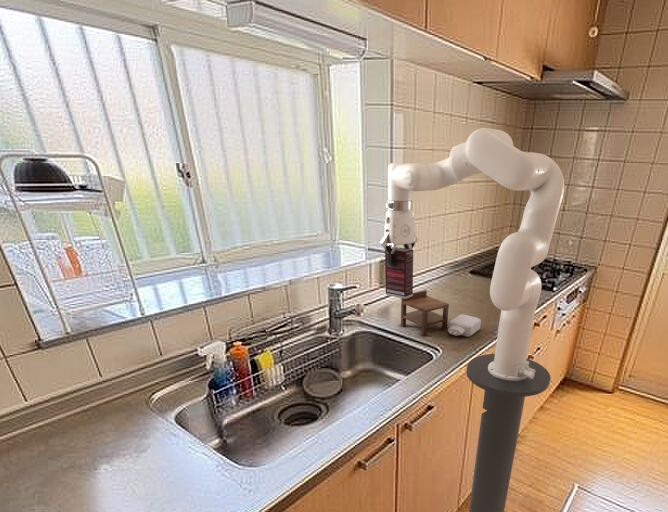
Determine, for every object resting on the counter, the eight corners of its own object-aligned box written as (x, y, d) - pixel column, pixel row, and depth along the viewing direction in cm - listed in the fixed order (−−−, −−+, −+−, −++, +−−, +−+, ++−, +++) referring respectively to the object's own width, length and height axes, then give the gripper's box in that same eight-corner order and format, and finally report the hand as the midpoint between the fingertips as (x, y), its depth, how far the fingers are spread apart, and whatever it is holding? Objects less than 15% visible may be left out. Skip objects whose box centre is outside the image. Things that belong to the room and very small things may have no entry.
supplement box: (413, 296, 144) (414, 249, 137) (405, 299, 141) (406, 251, 134) (392, 291, 148) (392, 245, 141) (384, 294, 144) (384, 247, 137)
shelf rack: (446, 329, 159) (449, 298, 154) (423, 336, 151) (425, 304, 146) (423, 319, 167) (425, 290, 162) (400, 325, 159) (401, 295, 154)
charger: (439, 336, 152) (458, 324, 164) (462, 343, 148) (479, 330, 160) (440, 324, 150) (459, 313, 161) (463, 330, 146) (481, 318, 158)
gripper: (385, 208, 124) (386, 269, 132) (427, 206, 135) (425, 263, 143) (370, 206, 128) (371, 265, 136) (412, 204, 139) (411, 259, 147)
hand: (399, 263), depth 140 cm, fingers closed on supplement box, 5 cm apart
